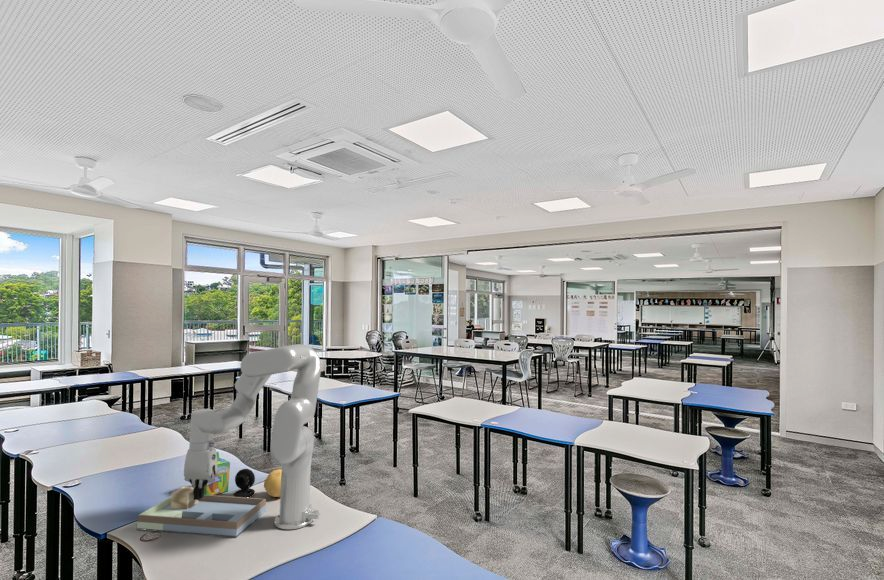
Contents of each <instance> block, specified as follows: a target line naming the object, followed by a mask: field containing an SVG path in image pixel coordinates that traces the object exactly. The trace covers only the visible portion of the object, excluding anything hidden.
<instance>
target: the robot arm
mask: <svg viewBox="0 0 884 580" xmlns="http://www.w3.org/2000/svg"><path fill="white" fill-rule="evenodd" d="M294 370H296V375H295V377H294V381H293V383H292V390H291V391H292V392H291V396H290V399H288V400H287V401H285V402H283V403H282V404H280V405H279V407H278V409H277V411H276V413H275V416H274V420H273V421H274V422H273V427H272V432H271V433H272V434H271V438H270V439H271V440H270V445H269V446H270V448H269V449H270V450H269V451H270V454H271V458H272V460H274V462H276V463H277V464H279V465H281V469H282V475H281V495H280V497H279V498H280V500H279V514H278V515H276V517H275V518H274V522H273V523H274V526H275V527H276V528H278V529H282V530H297V529H301V528H304V527H307V526H308V525H310V524H311V523H312V522H313V520H319V519H320V517H321V513H320V510H319V509H313V505H312V504H310V494H311V493H310V492H311V491H310V490H311V471H312V470H311V469H312V457H313V451H314V446H315V438H314V433H313V431H312V430H311V429H310V428H309V427H307V426H305V425H306V424H307V423H309V422H310V421H312V419H313V418H314V416H315V414H316V408H317V401H318V395H319V394H318V393H319V385H320V384H319V383H320V379H321V372H322V364H321V359H320V356H319V355H318V353H317V352H316V351H315V350H314V349H313V348H312V347H310V346H309V345H307V344H303V343H302V344H301V343H299V344H298V343H297V344H291V345H283V346H279V347H273V348H270V349H269V348H268V349H265V350H258V351H252V352H249V353H247V354H246V355H244V356H243V358H242V360H241V362H240V372H241V375H240V376H239V377H238V378H237V380H236V381H235V383H234V388H235V390H236V391H237V393H238V394H237V396H236V397H235V399H234V401H233V402H232V403H231V405H230V406H229V407H227V408H224V409H221V410H219V411H216V412H215V410H213V409H211V408H202V409H196V410H194V411H192V413H191V415H190V428H189V429H190V430H189V444H188V445H189V447H188V449H187V452H186V455H185V460H184V466H183V477H184V478H183V480H184V481H185V482H189V483H190V484H191V487H192V488H194V494H193V496H194V500H199V499H201V498H202V497H203V496H204V490H205V485H206V484H207V483H211V482H213V481H215V477H214V476H215V475H217V453H216V452H217V448H216V447H217V442H215V435H221V434H224V433H226V432H228V431H231V430H234V429H235V428H236V427H237V428H238V427H239V426H240V425H241V424H242V423H243V422H244V421H245V419H246V418H247V417H248V416H249V415H250V413H251V412H252V411H253V409H254V407H255V404H256V401H257V395H258V394H259V393H260V391H261V390H262V389H263V387H264V386H265V384H266V383H267V382H268V381H269V379H270V378H271V376H272V375H276V374H282V373H286V372H288V373H289V372H291V371H294Z"/></svg>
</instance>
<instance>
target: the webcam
mask: <svg viewBox="0 0 884 580" xmlns="http://www.w3.org/2000/svg"><path fill="white" fill-rule="evenodd" d="M255 475H256V474H255V473H254V472H253V470H251V469H250V468H242V469H239V471H237V472H236V474H235V476H234V481H235V485H236V487H237V488H238V490H236V491H235V492H234V493H233V497H246V498H247V497H249V498H251V497H253V496H254V495H255V493H256V491H255V490H254V489H253V488H252V486H253V485H254V483H255V482H256V476H255ZM249 492H251V493H249ZM252 495H253V496H252ZM250 496H251V497H250Z"/></svg>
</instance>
